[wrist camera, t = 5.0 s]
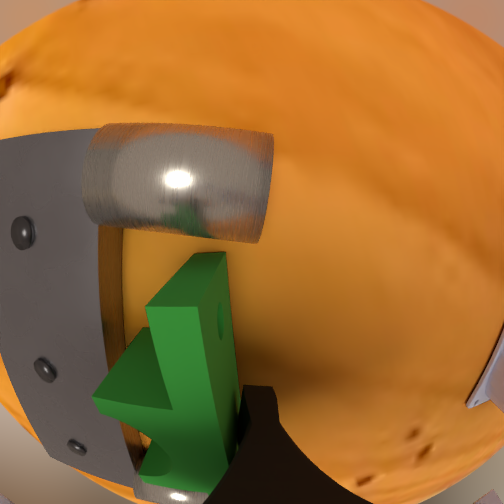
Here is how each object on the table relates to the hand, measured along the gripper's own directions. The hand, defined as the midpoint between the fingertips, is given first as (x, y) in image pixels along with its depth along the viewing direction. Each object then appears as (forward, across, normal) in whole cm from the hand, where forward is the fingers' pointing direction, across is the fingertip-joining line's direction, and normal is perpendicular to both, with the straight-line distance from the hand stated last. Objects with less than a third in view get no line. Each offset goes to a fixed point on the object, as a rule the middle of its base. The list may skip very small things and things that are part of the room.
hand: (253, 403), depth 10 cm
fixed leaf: (+1, +6, 0) cm, 6 cm away
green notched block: (+2, +2, 0) cm, 3 cm away
